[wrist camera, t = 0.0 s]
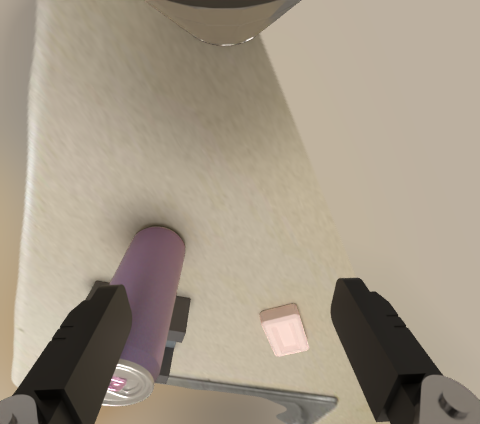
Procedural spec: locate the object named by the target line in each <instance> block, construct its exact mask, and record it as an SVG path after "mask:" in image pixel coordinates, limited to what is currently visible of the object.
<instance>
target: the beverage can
mask: <svg viewBox="0 0 480 424" xmlns="http://www.w3.org/2000/svg"><path fill="white" fill-rule="evenodd" d="M184 256H185V245H184V243H183V241H182V239H181V238H180V237H179V235H178V234H176V233H175V232H174V231H172V230H170V229H168V228H165V227H158V226H156V227H149V228H146V229H143V230H141V231H139V232H138V233H137V234H136V235H135V236H134V238H133V240H132V242H131V243H130V245H129V247H128V249H127V251H126V253H125V255H124V257H123V259H122V261H121V263H120V265H119V267H118V269H117V270H116V272H115V274H114V276H113V278H112V280H111V282H110V284H109V285H119V284H122V285H124V287H125V289H126V293H127V297H128V300H129V304H130V308H131V312H132V326H131V330H130V333H129V336H128V338H127V341H126V344H125V346H124V349H123V351H122V354H121V356H120V359H119V362H118V364H117V367H116V369H115V372H114V374H113V377H112V380H111V382H110V385H109V387H108V390H107V393H106V395H105V398H104V400H103V403H102V405H104V406H126V405H132V404H135V403H138V402H141V401H143V400H145V399H146V398H148V397H149V396H150V395H151V393H152V391H153V389H154V383H155V381H156V380H157V378H158V376H159V374H160V369H161V365H162V360H163V355H164V350H165V346H166V341H167V336H168V332H169V327H170V322H171V317H172V313H173V308H174V303H175V298H176V294H177V289H178V284H179V280H180V275H181V270H182V265H183V261H184Z"/></svg>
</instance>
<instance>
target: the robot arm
mask: <svg viewBox="0 0 480 424" xmlns="http://www.w3.org/2000/svg"><path fill="white" fill-rule="evenodd" d="M144 1H145V2H147V3H148V4H150V5H151V6H152V7H154V8H155V9H157V10H158V11H159V12H161V13H162V14H164V15H165V16H166V17H168V18H169V19H171V20H172V21H173V22H175V23H176V24H178V25H179V26H181V27H182V28H183V29H185V30H186V31H187V32H189V33H190V34H192V35H193V36H194V37H195V38H197V39H199V40H201V41H203V42H206V43H209V44H212V45H218V46H231V45H237V44H240V43H244V42H246V41H248V40H250V39H252V38H254V37H255V36H256V35H257V34H259V33H260V32H261V31H263V30H264V29H265V28H267V27H268V26H269V25H270V24H272V23H273V22H274V21H276V20H277V19H278V18H279V17H281V16H282V15H283V14H284V13H286V12H287V11H288V10H290V9H291V8H292V7H293V6H294V5H296V4H297V3H299V2H300V1H301V0H144ZM331 318H332V322H333V325H334V327H335V329H336V332H337V334H338V336H339V339H340V341H341V343H342V345H343V348H344V350H345V352H346V355H347V357H348V359H349V361H350V364H351V366H352V368H353V370H354V373H355V375H356V377H357V380H358V382H359V384H360V386H361V389H362V391H363V393H364V395H365V398H366V400H367V402H368V405H369V407H370V409H371V411H372V414H373V416H374V418H375V420H376V422H387V421H390V423H391V424H480V400H479V399H478V398H477V397H476V396H475V395H474V394H473V393H472V392H471V391H470V390H469V389H467V388H466V387H465V386H463V385H462V384H460V383H459V382H457V381H455V380H453V379H451V378H448V377H445V376H443V374H442V373H441V372H440V371H439V369H438V368H437V367H436V365H435V364H434V363H433V361H432V360H431V359H430V357H429V356H428V354H427V353H426V352H425V350H424V349H423V348H422V347H421V345H420V344H419V342H418V341H417V340H416V338H415V337H414V335H413V334H412V333H411V331H410V330H409V329H408V328H406V325H405V323H404V322H403V321H402V319H401V318H400V317H398V314H397V312H396V311H395V310H394V308H393V307H392V306H391V304H390V303H389V302H388V301H387V300H386V299H384V298H383V297H382V296H381V295H379V294H378V293H377V292H370V291H369V290H368V288H367V287H366V285H365V284H364V282H363V281H362V280H361V279H360V278H339V279H338V280H337V282H336V286H335V291H334V295H333V300H332V304H331ZM131 326H132V312H131V308H130V304H129V300H128V297H127V293H126V289H125V287H124V285H122V284H119V285H100V286H99V287H98V288H97V290H96V291H95V293H94V295H93V296H92V298H91V299H90V300H84V301H82V302H81V303H80V304H79V305H78V306H77V307H75V308H74V309H73V310H72V311H71V312H70V313H69V314H68V316H67V317H66V318H65V320H64V321H63V323H62V324H61V326H60V329H58V330H57V332H56V333H55V335H54V336H53V338H52V341H50V342H49V343H48V345H47V346H46V348H45V349H44V351H43V352H42V354H41V355H40V357H39V358H38V359H37V361H36V362H35V364H34V365H33V367H32V368H31V370H30V371H29V373H28V374H27V376H26V377H25V379H24V380H23V381H22V383H21V384H20V386H19V387H18V389H17V390H16V391H15V393H14V394H13V395H12V396H11V397H8V398H6V399H4V400H1V401H0V424H94V423H95V421H96V418H97V416H98V413H99V410H100V408H101V405H102V403H103V400H104V398H105V395H106V393H107V390H108V387H109V385H110V382H111V380H112V377H113V374H114V372H115V369H116V367H117V364H118V362H119V359H120V356H121V354H122V351H123V349H124V346H125V344H126V341H127V338H128V336H129V333H130V330H131Z"/></svg>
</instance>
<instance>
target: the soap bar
mask: <svg viewBox="0 0 480 424" xmlns="http://www.w3.org/2000/svg"><path fill="white" fill-rule="evenodd" d="M260 319H261V325H262V327H263V329H264V332H265V334H266V336H267V338H268V341H269V343H270V345H271V347H272V349H273V352H274V354H275V356H278V357H279V356H284V355H288V354H293V353H298V352H302V351H307V350H308V349H309V344H308V341H307V337H306V334H305V331H304V328H303V325H302V321H301V318H300V315H299V312H298V308H297V305H296V304H289V305H285V306H281V307H276V308H272V309H268V310H264V311H262V312H261V313H260Z"/></svg>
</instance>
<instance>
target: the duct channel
mask: <svg viewBox="0 0 480 424" xmlns="http://www.w3.org/2000/svg"><path fill="white" fill-rule="evenodd" d="M109 284H110V283H106V282H101V281H96V282H95V284H94V286H93V288H92V289H91V291H90V293H89V294H88V296H87V298H86V300H90V299H91V298H92V296H93V295H94V293H95V291H96V290H97V288H98V287H99V286H100V285H109ZM190 300H191V299H189V298H183V297H178V296H176V298H175V303H174V308H173V313H172V317H171V322H170V327H169V332H168V336H167V341H166V346H165V350H164V355H163V360H162V365H161V369H160V374H159V376H158V378H157V380H156V381H155V382H156V383H164V384H166V383H167V380H168V377H169V373H170V367H171V362H172V356H173V351H174V347H175V344H176V342H181V343H182V341H183V338H184V336H185V333H186V327H187V320H188V313H189V306H190Z"/></svg>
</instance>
